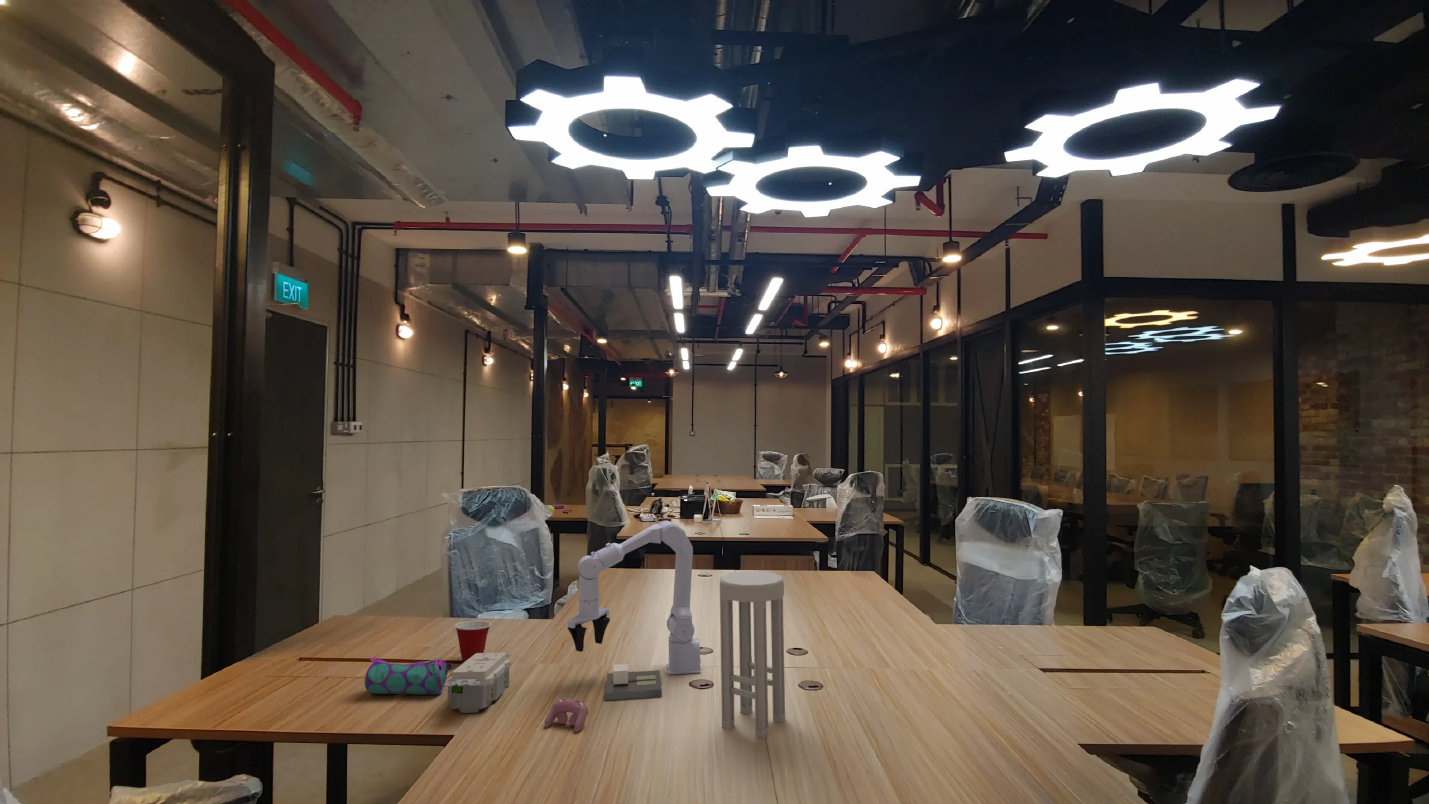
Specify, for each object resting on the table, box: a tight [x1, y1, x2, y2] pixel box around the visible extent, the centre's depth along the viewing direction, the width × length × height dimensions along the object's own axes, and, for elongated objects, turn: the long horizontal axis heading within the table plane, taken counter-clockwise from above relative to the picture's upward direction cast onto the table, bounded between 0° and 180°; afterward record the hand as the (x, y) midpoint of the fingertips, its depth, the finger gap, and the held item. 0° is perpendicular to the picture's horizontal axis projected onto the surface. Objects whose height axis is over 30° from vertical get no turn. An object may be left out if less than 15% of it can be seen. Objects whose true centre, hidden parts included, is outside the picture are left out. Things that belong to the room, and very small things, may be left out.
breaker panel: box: [604, 670, 663, 701], centre depth 176 cm, size 15×14×2 cm
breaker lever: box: [612, 663, 629, 684], centre depth 175 cm, size 4×5×4 cm
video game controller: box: [544, 698, 589, 733], centre depth 154 cm, size 10×5×7 cm, turn 71°
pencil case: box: [364, 656, 453, 696], centre depth 175 cm, size 21×9×10 cm, turn 91°
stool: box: [719, 570, 786, 740], centre depth 154 cm, size 16×16×35 cm
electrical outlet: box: [444, 652, 513, 714], centre depth 170 cm, size 12×28×10 cm, turn 1°
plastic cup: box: [454, 620, 492, 664], centre depth 198 cm, size 11×11×12 cm
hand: (589, 646), depth 181 cm, fingers open, 7 cm apart
